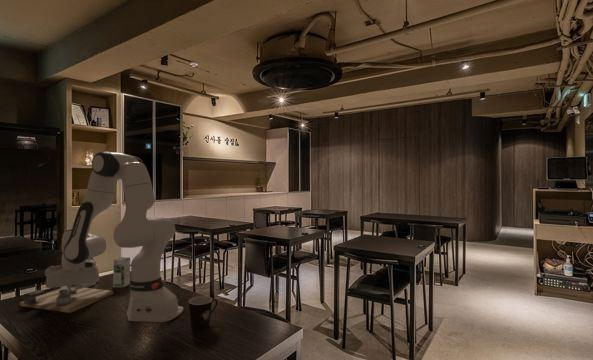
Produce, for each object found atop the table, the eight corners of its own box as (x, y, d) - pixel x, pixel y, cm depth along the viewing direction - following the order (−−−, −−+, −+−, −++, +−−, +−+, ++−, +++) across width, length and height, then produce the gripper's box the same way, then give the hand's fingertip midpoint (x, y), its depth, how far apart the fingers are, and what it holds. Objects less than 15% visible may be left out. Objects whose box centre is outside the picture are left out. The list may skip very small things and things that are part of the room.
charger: (105, 281, 179) (81, 290, 164) (91, 280, 181) (66, 289, 167) (105, 272, 179) (81, 281, 164) (91, 271, 181) (66, 279, 167)
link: (70, 303, 142) (70, 297, 142) (55, 306, 140) (55, 300, 140) (72, 290, 159) (72, 284, 159) (59, 291, 157) (59, 286, 157)
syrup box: (112, 287, 169) (112, 258, 169) (120, 283, 175) (120, 256, 175) (122, 288, 168) (122, 259, 168) (130, 284, 174) (130, 256, 174)
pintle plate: (113, 294, 160) (113, 279, 160) (69, 313, 137) (69, 296, 137) (67, 288, 166) (68, 274, 166) (18, 306, 144) (18, 289, 143)
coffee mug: (190, 333, 121) (190, 306, 121) (186, 324, 128) (186, 298, 128) (222, 327, 126) (222, 301, 126) (216, 318, 134) (216, 293, 134)
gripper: (44, 268, 143) (44, 300, 143) (99, 262, 154) (99, 292, 154) (45, 265, 149) (45, 296, 149) (99, 259, 159) (99, 288, 159)
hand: (73, 294), depth 151 cm, fingers closed
